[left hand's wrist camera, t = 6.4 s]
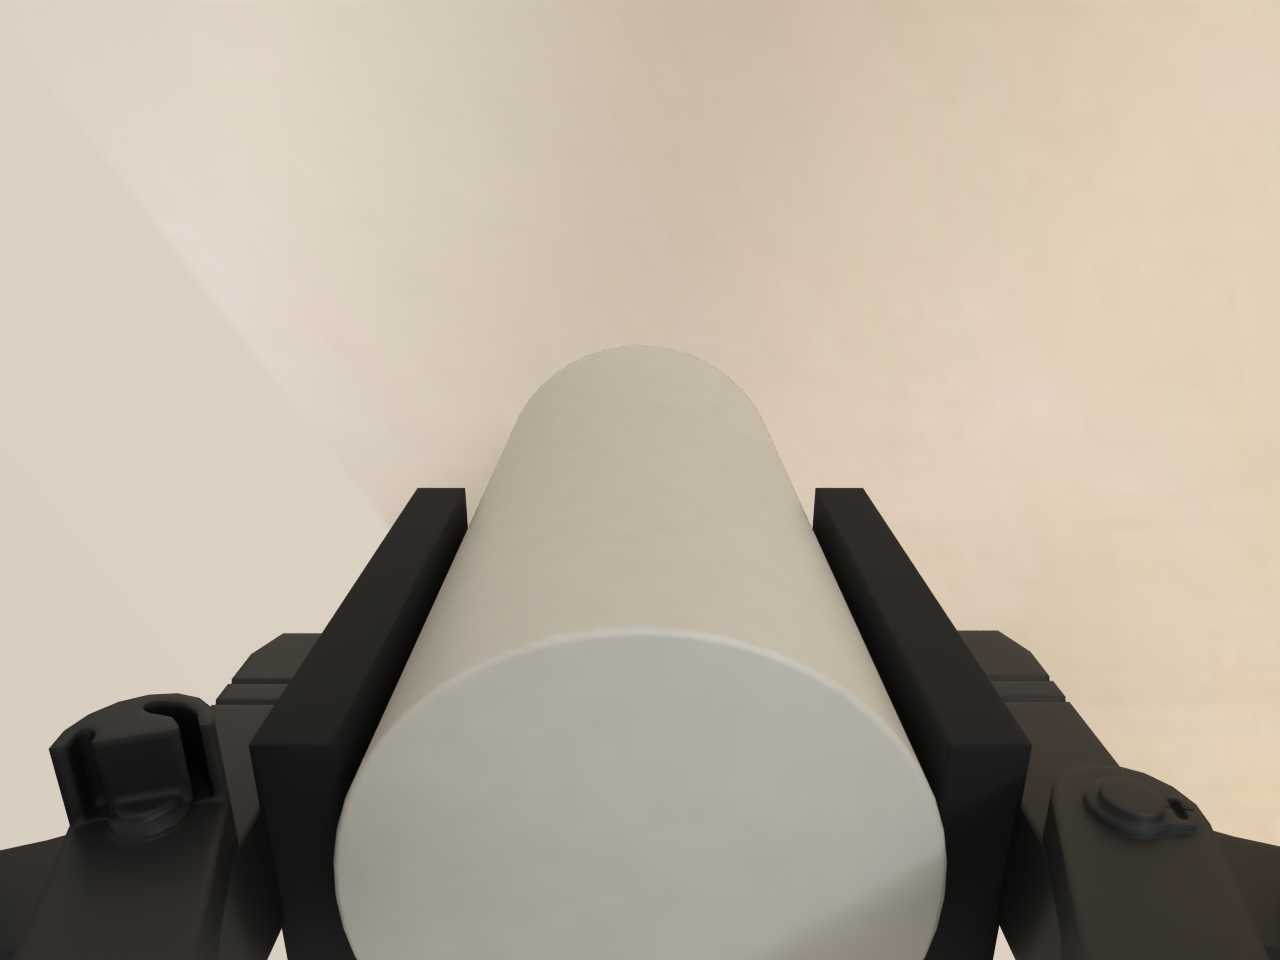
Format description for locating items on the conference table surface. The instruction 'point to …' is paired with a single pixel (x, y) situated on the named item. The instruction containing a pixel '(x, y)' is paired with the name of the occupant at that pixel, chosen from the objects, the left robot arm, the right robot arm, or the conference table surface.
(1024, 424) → the conference table surface
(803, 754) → the canister
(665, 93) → the conference table surface
